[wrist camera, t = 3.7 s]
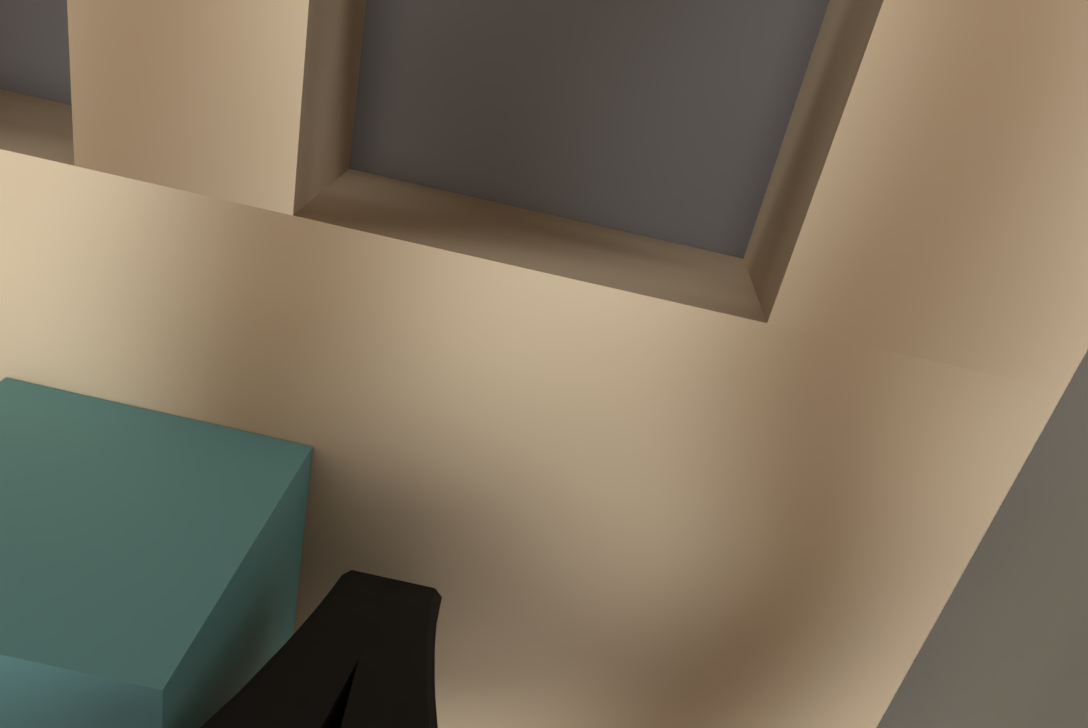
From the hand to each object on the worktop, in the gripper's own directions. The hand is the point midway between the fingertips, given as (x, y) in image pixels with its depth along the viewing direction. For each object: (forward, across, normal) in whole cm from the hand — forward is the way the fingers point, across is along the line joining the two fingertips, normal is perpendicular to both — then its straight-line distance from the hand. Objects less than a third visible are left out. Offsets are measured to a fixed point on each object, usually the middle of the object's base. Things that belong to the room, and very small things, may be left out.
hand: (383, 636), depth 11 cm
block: (+1, +3, 0) cm, 4 cm away
